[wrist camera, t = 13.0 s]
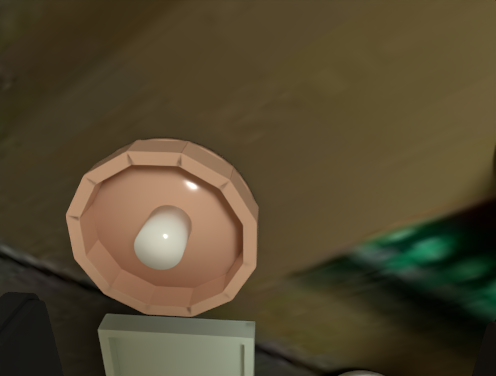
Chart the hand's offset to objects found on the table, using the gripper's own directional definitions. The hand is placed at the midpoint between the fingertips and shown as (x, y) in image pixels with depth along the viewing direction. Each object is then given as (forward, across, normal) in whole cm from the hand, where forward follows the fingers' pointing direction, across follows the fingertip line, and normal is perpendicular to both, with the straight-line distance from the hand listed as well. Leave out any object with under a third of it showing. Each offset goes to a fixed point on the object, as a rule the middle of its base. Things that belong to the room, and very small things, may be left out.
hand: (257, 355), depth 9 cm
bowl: (+30, +10, +14) cm, 35 cm away
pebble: (+29, +10, +14) cm, 34 cm away
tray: (+30, +10, +35) cm, 47 cm away
